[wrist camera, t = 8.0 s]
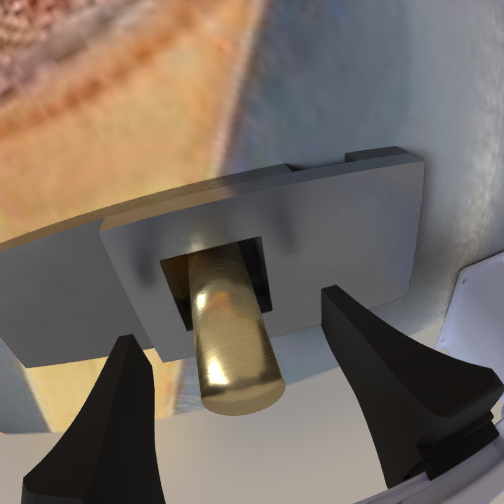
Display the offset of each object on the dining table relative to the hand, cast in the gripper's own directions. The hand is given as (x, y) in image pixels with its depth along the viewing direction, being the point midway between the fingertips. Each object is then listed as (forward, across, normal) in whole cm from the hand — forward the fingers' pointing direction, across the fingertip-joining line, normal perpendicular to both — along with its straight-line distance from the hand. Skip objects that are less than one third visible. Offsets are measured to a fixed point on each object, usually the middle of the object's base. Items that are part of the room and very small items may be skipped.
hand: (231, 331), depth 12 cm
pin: (+5, 0, 0) cm, 5 cm away
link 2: (+5, -3, 0) cm, 6 cm away
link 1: (+5, +5, 0) cm, 7 cm away
